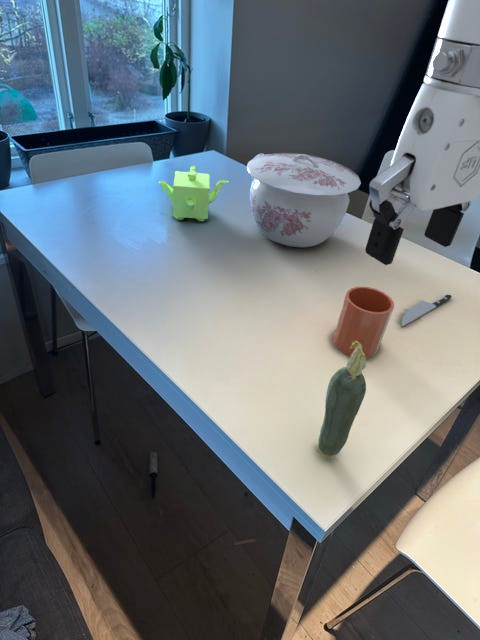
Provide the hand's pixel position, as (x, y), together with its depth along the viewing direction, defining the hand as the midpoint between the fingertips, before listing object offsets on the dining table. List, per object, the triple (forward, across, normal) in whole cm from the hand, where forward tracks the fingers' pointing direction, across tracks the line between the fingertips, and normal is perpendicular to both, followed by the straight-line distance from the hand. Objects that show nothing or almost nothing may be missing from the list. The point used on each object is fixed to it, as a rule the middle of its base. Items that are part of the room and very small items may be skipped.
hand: (408, 249), depth 48 cm
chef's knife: (+30, +38, +15) cm, 51 cm away
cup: (+30, +17, +14) cm, 37 cm away
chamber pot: (+30, +34, +54) cm, 71 cm away
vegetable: (+31, -6, -2) cm, 31 cm away
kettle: (+30, +16, +74) cm, 82 cm away
